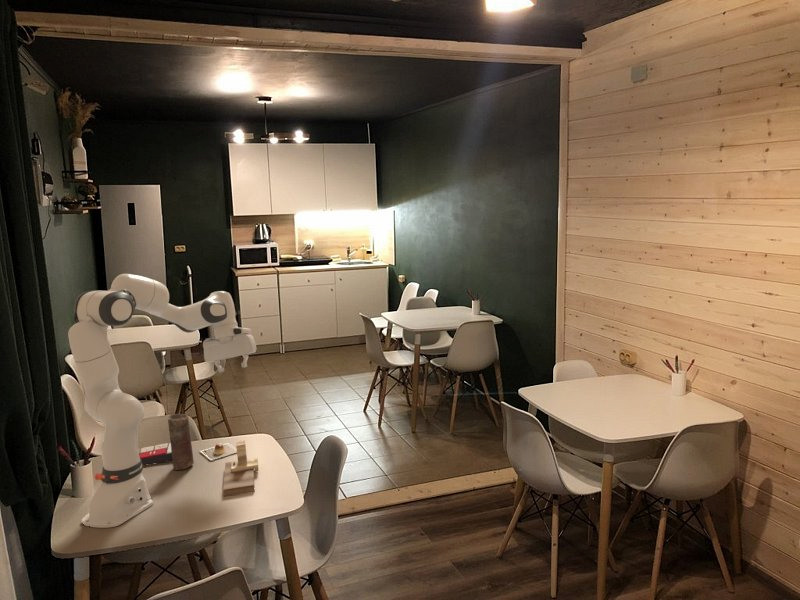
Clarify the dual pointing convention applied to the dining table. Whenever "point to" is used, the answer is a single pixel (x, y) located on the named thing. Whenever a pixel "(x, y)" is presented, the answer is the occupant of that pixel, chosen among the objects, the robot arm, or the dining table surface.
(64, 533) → the dining table surface
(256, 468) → the stacked wooden blocks
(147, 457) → the red and white box
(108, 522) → the robot arm
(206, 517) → the dining table surface
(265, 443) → the dining table surface
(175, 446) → the candle
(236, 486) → the board
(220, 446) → the dessert
